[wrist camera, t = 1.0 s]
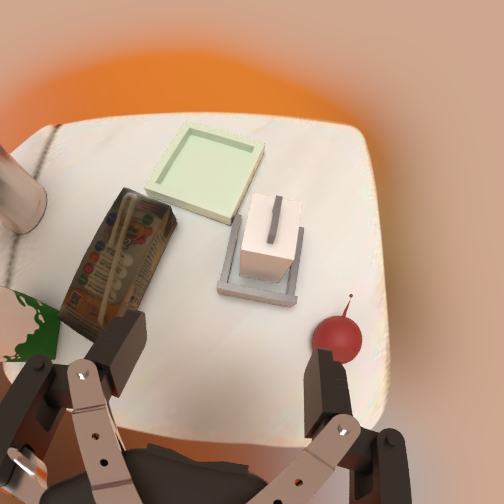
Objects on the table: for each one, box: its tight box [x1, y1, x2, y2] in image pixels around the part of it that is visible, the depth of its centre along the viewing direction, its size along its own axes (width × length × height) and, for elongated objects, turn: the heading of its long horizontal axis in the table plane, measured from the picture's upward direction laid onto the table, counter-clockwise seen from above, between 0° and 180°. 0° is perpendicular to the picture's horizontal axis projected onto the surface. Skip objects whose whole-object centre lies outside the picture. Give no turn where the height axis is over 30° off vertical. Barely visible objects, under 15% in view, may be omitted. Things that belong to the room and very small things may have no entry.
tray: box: [144, 121, 265, 226], centre depth 41 cm, size 13×13×2 cm
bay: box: [217, 214, 304, 307], centre depth 36 cm, size 9×10×4 cm
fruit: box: [312, 294, 362, 364], centre depth 33 cm, size 6×6×8 cm
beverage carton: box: [57, 188, 177, 343], centre depth 34 cm, size 8×19×7 cm, turn 158°
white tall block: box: [239, 193, 302, 283], centre depth 32 cm, size 5×6×13 cm
